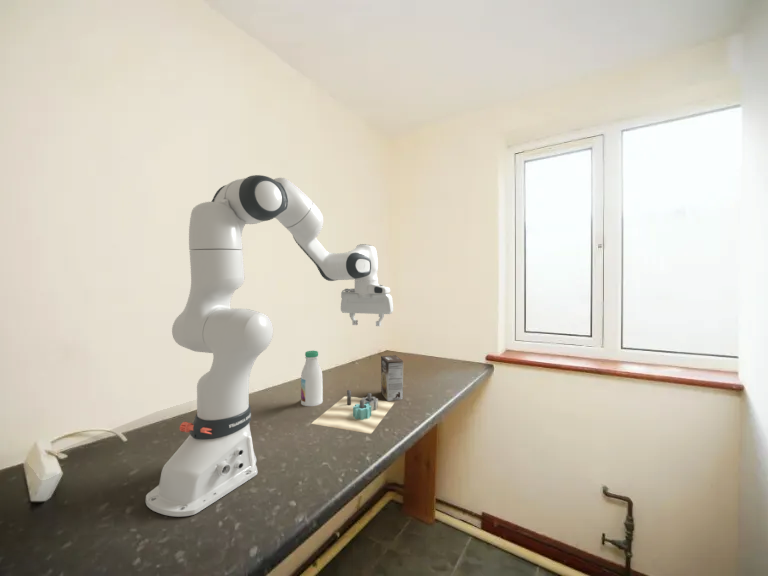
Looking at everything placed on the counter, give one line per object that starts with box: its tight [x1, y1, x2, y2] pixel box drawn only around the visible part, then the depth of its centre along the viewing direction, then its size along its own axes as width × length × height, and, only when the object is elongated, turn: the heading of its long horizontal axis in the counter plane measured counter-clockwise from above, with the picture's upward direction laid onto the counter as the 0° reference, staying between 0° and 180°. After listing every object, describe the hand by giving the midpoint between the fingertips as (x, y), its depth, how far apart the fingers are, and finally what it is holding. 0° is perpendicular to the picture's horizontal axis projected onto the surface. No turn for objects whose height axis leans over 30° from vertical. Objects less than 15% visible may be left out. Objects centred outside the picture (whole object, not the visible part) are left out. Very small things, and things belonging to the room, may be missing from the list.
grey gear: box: [361, 396, 379, 411], centre depth 104 cm, size 6×6×3 cm
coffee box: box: [380, 355, 404, 402], centre depth 116 cm, size 9×6×16 cm
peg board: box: [310, 389, 395, 435], centre depth 101 cm, size 24×20×6 cm
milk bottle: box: [300, 350, 324, 407], centre depth 110 cm, size 8×8×20 cm
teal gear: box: [353, 404, 371, 420], centre depth 98 cm, size 6×6×3 cm
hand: (366, 325), depth 112 cm, fingers open, 8 cm apart
